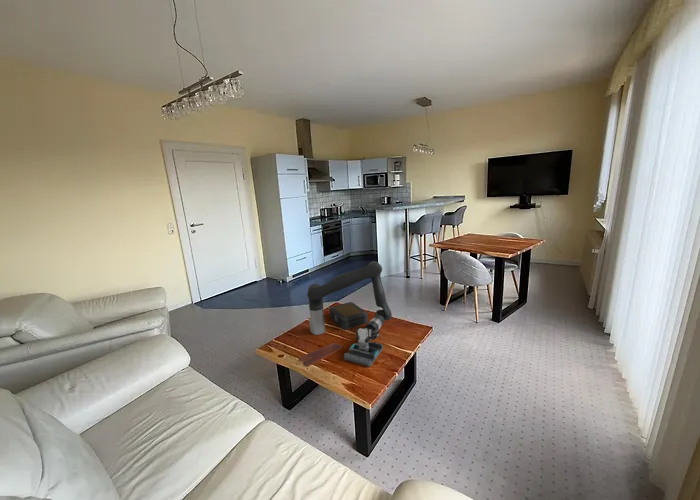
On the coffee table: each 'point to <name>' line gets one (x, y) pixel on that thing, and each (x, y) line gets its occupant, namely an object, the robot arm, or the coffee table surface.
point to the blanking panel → (363, 340)
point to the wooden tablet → (319, 354)
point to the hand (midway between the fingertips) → (361, 340)
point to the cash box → (348, 315)
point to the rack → (364, 353)
